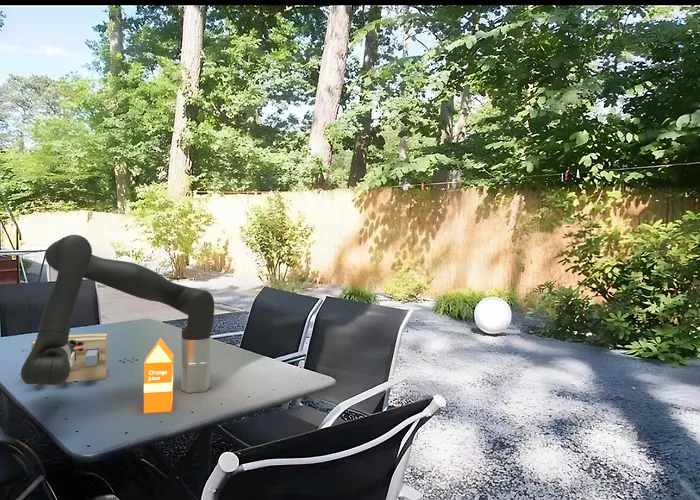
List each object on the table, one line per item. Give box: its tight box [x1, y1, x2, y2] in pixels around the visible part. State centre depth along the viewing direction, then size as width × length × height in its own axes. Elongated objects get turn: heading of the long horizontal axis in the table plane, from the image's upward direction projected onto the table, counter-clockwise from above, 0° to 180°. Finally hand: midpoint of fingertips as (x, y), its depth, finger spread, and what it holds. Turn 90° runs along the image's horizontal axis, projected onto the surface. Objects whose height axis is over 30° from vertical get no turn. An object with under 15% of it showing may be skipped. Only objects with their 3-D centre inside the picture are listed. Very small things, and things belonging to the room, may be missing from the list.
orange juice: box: [143, 337, 175, 414], centre depth 152 cm, size 8×9×20 cm
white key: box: [69, 350, 76, 367], centre depth 170 cm, size 11×3×3 cm, turn 22°
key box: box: [30, 332, 108, 386], centre depth 177 cm, size 10×22×14 cm, turn 112°
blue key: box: [85, 348, 99, 366], centre depth 173 cm, size 11×3×3 cm, turn 22°
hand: (63, 341), depth 160 cm, fingers closed
